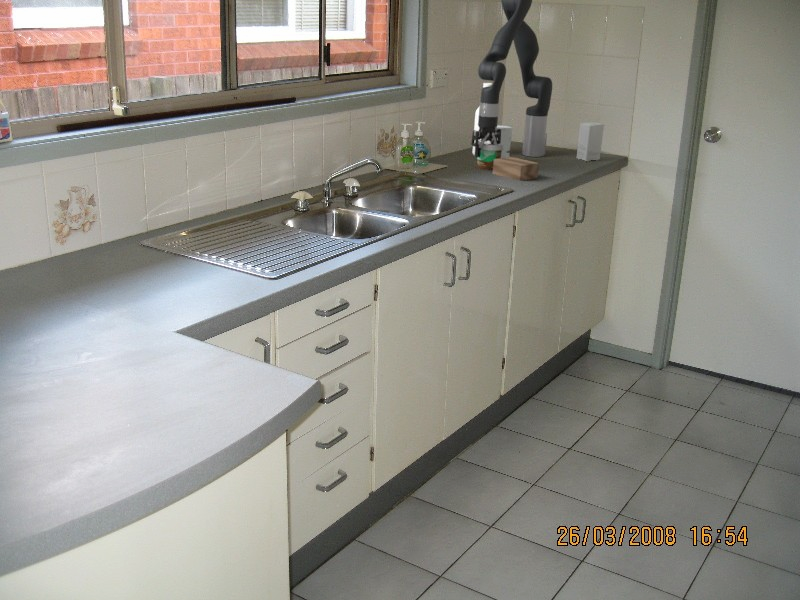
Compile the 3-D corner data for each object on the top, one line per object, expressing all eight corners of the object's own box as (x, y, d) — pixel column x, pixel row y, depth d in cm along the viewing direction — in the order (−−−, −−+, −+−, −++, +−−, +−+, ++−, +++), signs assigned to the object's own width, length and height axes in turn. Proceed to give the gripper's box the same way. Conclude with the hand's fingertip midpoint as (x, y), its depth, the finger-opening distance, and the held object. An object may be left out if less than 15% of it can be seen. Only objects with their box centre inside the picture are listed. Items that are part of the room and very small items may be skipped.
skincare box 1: (491, 164, 356) (494, 127, 351) (484, 161, 362) (487, 125, 357) (509, 163, 360) (512, 127, 355) (502, 160, 365) (505, 124, 360)
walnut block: (510, 171, 345) (511, 156, 343) (537, 178, 335) (538, 163, 333) (492, 174, 338) (493, 159, 336) (519, 181, 329) (521, 165, 326)
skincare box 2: (590, 157, 380) (594, 121, 374) (600, 160, 374) (605, 124, 369) (575, 158, 376) (579, 122, 370) (585, 161, 370) (590, 124, 365)
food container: (467, 166, 349) (469, 141, 346) (477, 164, 354) (478, 140, 350) (492, 172, 342) (494, 146, 338) (501, 170, 346) (503, 144, 342)
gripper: (493, 112, 347) (490, 153, 353) (468, 114, 338) (465, 156, 344) (508, 115, 342) (504, 156, 348) (482, 117, 333) (479, 159, 339)
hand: (485, 156), depth 346 cm, fingers open, 8 cm apart
